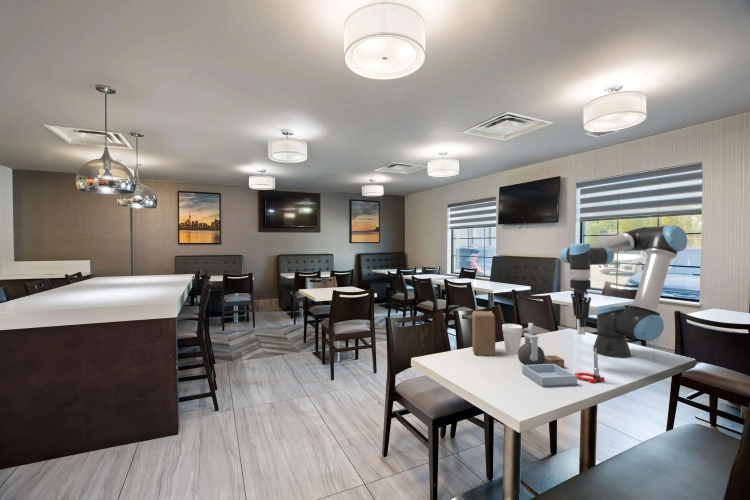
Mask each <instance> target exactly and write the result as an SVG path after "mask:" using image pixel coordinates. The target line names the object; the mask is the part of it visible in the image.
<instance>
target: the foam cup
mask: <svg viewBox="0 0 750 500" xmlns="http://www.w3.org/2000/svg"><path fill="white" fill-rule="evenodd" d="M501 326H502V327H501V330H502V335H503V340H504V349H505V352H506V353H508V354H513V355H516V354H517V355H518V351H519V348H520V347H521V340H522V333H523V326H522V325H520V324H516V323H503V324H502V325H501Z"/></svg>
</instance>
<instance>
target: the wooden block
mask: <svg viewBox="0 0 750 500" xmlns="http://www.w3.org/2000/svg"><path fill="white" fill-rule="evenodd" d="M471 318H472V327H471V328H472V335H471V336H472V351H473V355H475V356H483V357H484V356H487V357H490V356H491V357H494V356H495V355H496V316H495V314H494V313H493V312H492V311H486V310H485V311H484V310H483V311H482V310H481V311H479V310H473V311H472V317H471Z"/></svg>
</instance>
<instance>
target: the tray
mask: <svg viewBox="0 0 750 500" xmlns="http://www.w3.org/2000/svg"><path fill="white" fill-rule="evenodd" d="M521 368H522V369H521V370H522V372H521V374H522V375H524V376H525V377H527V378H528V379H529V380H531V381H532V382H534V383H536V384H537V385H539V387H541V388H546V387H547V388H548V387H550V388H551V387H567V386H569V387H570V386H571V387H572V386H578V378H577V376H576V375H575V373H572V372H570V371H568V370H567V369H566V368H561V367H559V366H557V365H555V364H537V365H524V364H522V365H521Z"/></svg>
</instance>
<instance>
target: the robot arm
mask: <svg viewBox="0 0 750 500" xmlns="http://www.w3.org/2000/svg"><path fill="white" fill-rule="evenodd" d="M687 246H688V236H687V234H686V232H685V230H684V229H683V228H682V227H681V226H678V225H659V226H644V227H638V228H634V229H631V230H628V231H623V232H621V233H618V234H617V235H616V236H613V237H609V238H605V239H601V240H597V241H593V242H590V243H588V242H587V243H585V242H584V243H571V244H570V245H569V247H564V248H562V249H561V251H560V255H559V256H560V260H561V261H562V262H563V263H565V264H569V271H568V273H569V275H570V277H569V278H570V280H569V281H570V282H569V284H570V285H569V287H570V288H571V289H573V292H572V293H571V294H570V297H571V302H572V309H573V310H572V311H573V316H575V318H576V334H577V335H583V336H584V335H586V320H588V319H589V315H590V314H589V313H590V305H591V302H592V297H591V296H588V295H589V293H588V290H589V289H591V286H592V285H591V284H592V283H591V282H592V281H591V280H590V279H591V277H592V276H591V266H595V265H597V266H598V265H599V266H600V265H602V266H604V265H608V264H611V263H612V262H613V261H614V259H615V254H616V253H620V252H624V253H625V252H626V253H627V252H632V251H635V252H636V251H640V252H641V251H644V253H645V254H646V255H647V256H646V259H645V262H644V265H643V270H642V272H641V276H640V281H639V284H638V286H637V290H636V293H635V297H634V301H633V303H631V304H629V305H628V307H627V308H626V306H624V305H606V306H605V305H603V306H599V307H598V308H597V310H596V311H597V313H596V325H597V329H596V330H597V335H596V339H595V341H594V344H593V346H592V347H593V349H592V350H593V352H594V348H596V349H597V355H598V354H599V355H602V356H605V357H611V358H629V357H631V354H632V353H631V349H630V347H629V344H628V341H627V337H630V338H635V339H637V340H642V341H647V342H648V341H649V342H650V341H654V340H656V339H659V337H660V336H661V335H662V334H663V331H664V328H665V324H664V320H663V318H662V317H661V313H660V311H659V310H658V307H659V303H660V299H661V296H662V292H663V290H664V289H663V288H664V285H665V282H666V280H667V279H666V278H667V275H668V271H669V267H670V264H671V261H672V260H673V259H674V258H676V257H677V255H678V252H682V251H684V250H685V249H686V248H687Z"/></svg>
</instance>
